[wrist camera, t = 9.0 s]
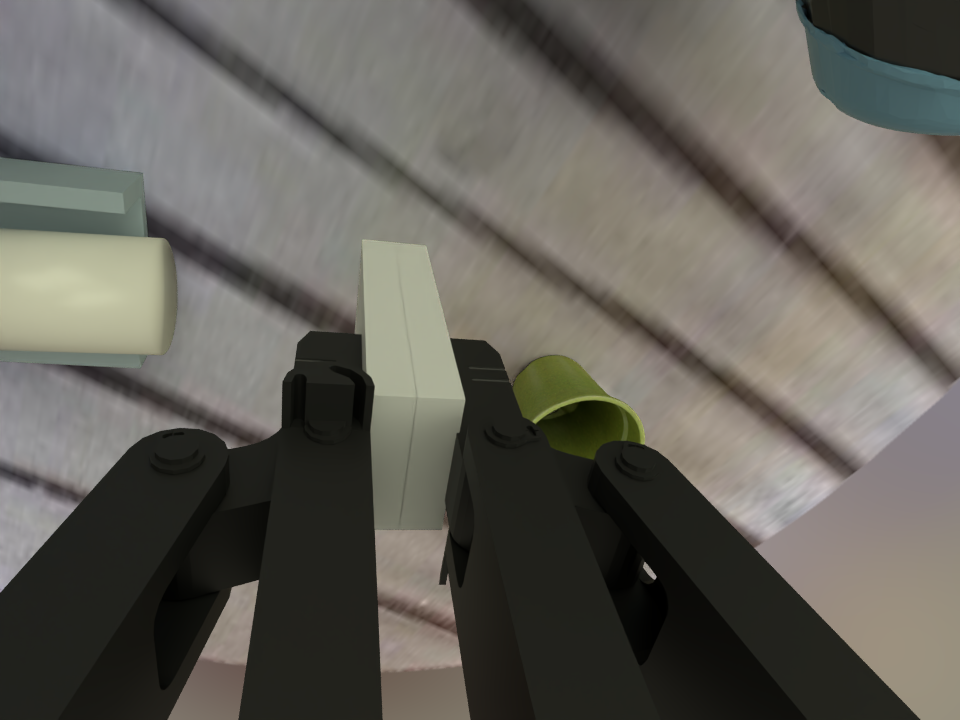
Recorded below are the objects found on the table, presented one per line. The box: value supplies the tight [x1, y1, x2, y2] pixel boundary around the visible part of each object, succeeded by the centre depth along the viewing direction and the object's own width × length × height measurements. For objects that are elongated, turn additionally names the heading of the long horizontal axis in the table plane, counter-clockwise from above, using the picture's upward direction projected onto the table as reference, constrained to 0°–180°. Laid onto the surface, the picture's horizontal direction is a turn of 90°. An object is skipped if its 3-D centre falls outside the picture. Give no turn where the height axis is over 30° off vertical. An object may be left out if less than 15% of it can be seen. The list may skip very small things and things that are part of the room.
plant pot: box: [513, 355, 645, 460], centre depth 50 cm, size 9×9×9 cm
